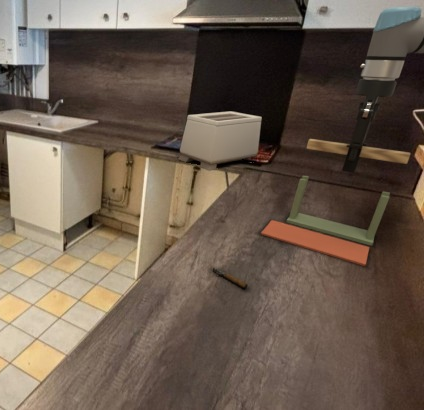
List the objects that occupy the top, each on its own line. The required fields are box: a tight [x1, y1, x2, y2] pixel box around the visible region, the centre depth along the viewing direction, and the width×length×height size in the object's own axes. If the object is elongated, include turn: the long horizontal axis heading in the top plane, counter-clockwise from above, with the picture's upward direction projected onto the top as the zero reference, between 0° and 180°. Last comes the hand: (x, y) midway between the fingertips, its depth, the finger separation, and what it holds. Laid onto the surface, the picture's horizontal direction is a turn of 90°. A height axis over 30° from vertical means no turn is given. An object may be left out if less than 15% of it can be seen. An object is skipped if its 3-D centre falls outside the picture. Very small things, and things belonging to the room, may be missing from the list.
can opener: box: [212, 266, 249, 289], centre depth 80 cm, size 9×2×1 cm, turn 29°
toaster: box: [177, 111, 263, 172], centre depth 164 cm, size 19×34×21 cm, turn 119°
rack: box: [285, 175, 391, 247], centre depth 102 cm, size 21×8×14 cm, turn 50°
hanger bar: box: [306, 138, 411, 165], centre depth 95 cm, size 22×2×2 cm, turn 50°
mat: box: [260, 219, 370, 267], centre depth 97 cm, size 24×11×1 cm, turn 50°
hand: (348, 170), depth 97 cm, fingers closed on hanger bar, 2 cm apart
